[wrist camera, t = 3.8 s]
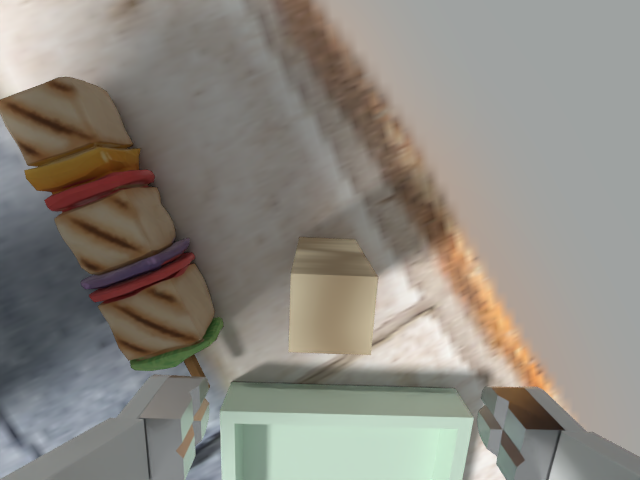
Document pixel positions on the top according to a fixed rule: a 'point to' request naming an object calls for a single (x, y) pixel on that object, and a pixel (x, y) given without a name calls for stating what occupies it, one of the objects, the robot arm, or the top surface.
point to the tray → (343, 432)
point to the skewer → (114, 222)
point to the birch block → (331, 298)
